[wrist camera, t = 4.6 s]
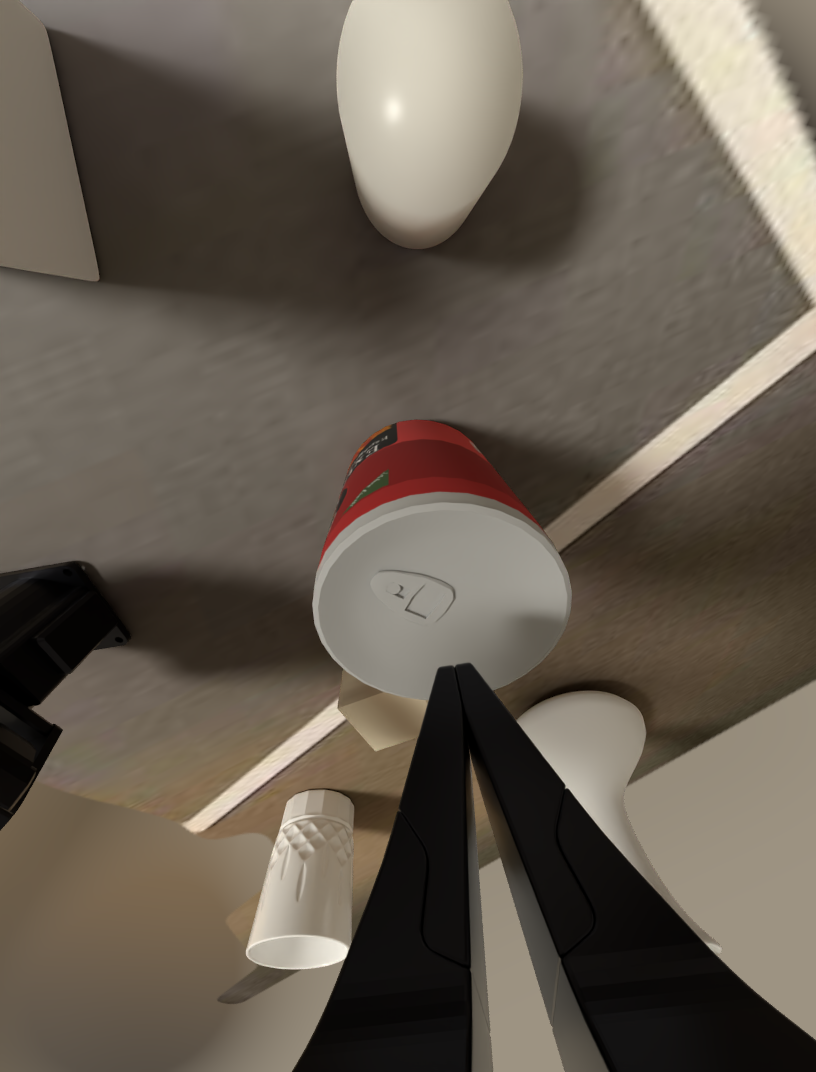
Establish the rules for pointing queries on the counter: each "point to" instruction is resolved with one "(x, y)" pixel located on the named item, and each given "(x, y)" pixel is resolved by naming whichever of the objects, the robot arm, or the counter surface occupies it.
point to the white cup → (307, 886)
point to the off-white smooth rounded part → (427, 109)
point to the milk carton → (37, 158)
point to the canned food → (435, 567)
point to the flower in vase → (600, 768)
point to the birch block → (380, 713)
